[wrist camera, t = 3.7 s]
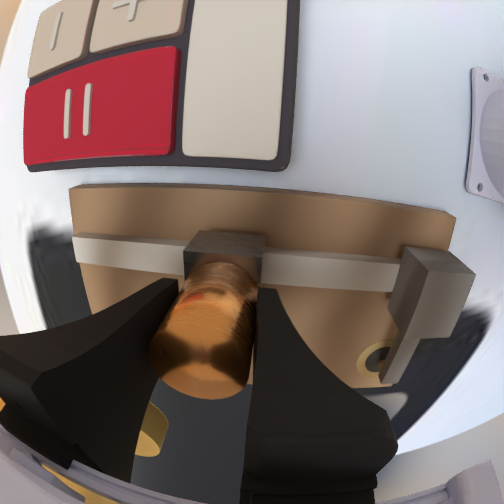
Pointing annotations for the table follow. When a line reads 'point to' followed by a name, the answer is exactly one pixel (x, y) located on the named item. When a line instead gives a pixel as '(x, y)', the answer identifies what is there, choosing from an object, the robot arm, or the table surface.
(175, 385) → the slider leg
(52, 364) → the robot arm
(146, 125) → the button panel
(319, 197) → the board
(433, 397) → the table surface
